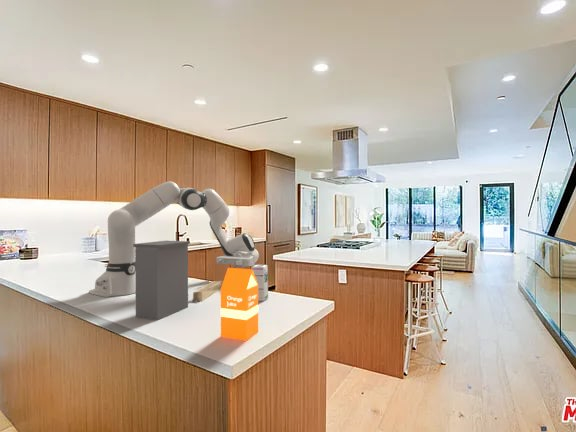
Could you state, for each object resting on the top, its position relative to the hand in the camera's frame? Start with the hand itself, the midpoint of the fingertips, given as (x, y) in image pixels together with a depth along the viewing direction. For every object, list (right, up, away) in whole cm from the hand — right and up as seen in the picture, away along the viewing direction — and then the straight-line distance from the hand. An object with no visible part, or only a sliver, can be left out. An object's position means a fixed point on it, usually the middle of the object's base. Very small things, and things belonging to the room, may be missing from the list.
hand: (226, 262), depth 159 cm
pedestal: (-16, -12, -41) cm, 46 cm away
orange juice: (+16, -12, -63) cm, 66 cm away
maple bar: (-5, -13, -14) cm, 20 cm away
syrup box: (+19, -12, -23) cm, 32 cm away
